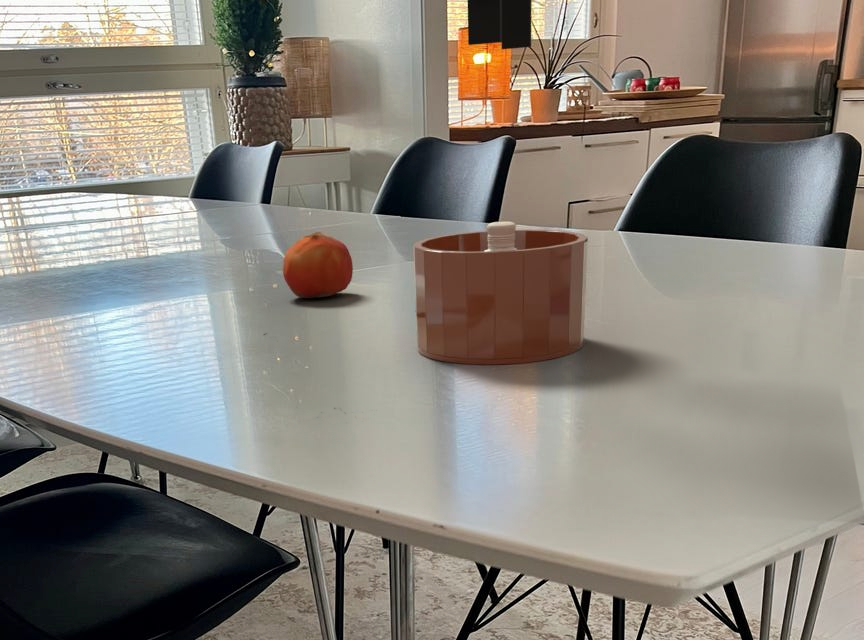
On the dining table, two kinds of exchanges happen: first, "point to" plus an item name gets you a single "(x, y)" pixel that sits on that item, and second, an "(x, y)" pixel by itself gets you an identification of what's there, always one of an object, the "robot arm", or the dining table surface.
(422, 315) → the crock
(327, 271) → the tomato
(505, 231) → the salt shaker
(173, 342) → the dining table surface
